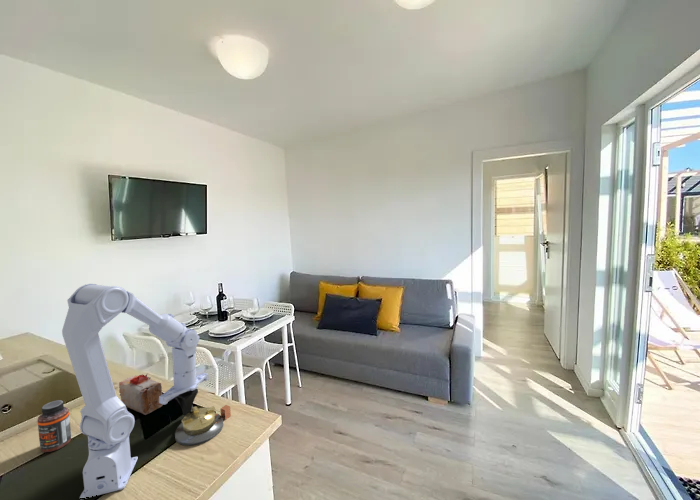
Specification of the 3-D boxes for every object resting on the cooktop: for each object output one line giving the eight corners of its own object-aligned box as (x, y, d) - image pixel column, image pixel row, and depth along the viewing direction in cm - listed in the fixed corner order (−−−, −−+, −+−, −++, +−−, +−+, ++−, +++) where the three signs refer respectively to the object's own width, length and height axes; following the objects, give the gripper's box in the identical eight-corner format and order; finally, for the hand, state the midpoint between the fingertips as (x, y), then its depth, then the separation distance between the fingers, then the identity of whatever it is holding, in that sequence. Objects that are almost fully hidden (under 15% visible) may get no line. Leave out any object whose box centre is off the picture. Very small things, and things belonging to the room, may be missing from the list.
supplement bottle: (34, 456, 77) (29, 413, 76) (49, 440, 82) (45, 400, 81) (63, 450, 78) (58, 408, 77) (76, 435, 84) (72, 396, 83)
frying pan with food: (195, 451, 77) (194, 440, 77) (165, 437, 82) (164, 427, 82) (238, 418, 90) (237, 408, 90) (209, 408, 95) (209, 399, 95)
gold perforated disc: (220, 424, 85) (220, 413, 85) (188, 440, 79) (187, 427, 79) (203, 404, 95) (202, 394, 94) (173, 416, 89) (172, 405, 89)
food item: (116, 407, 97) (113, 377, 96) (142, 394, 104) (140, 366, 103) (142, 418, 91) (139, 386, 90) (168, 404, 98) (166, 374, 97)
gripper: (171, 384, 79) (173, 434, 80) (215, 361, 93) (217, 404, 94) (152, 379, 82) (155, 427, 83) (198, 357, 95) (200, 399, 96)
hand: (187, 414), depth 88 cm, fingers closed, pressing on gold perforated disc
